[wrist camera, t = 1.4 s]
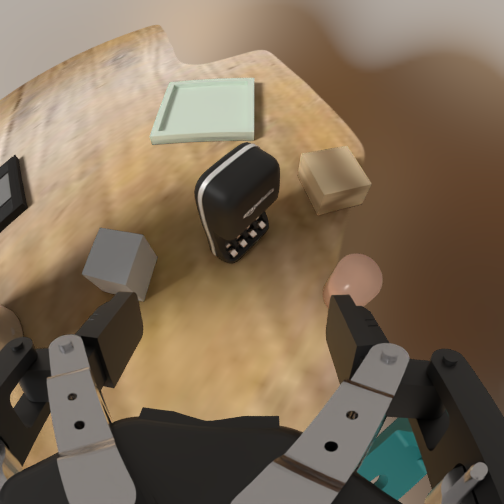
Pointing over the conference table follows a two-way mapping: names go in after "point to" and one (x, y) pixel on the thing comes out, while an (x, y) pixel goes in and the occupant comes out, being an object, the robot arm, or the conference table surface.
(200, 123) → the tray
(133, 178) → the conference table surface
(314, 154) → the oak block
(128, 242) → the grey box
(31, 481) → the robot arm
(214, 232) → the battery charger
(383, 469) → the bracket
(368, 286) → the pink glossy rounded part
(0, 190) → the vhs tape
